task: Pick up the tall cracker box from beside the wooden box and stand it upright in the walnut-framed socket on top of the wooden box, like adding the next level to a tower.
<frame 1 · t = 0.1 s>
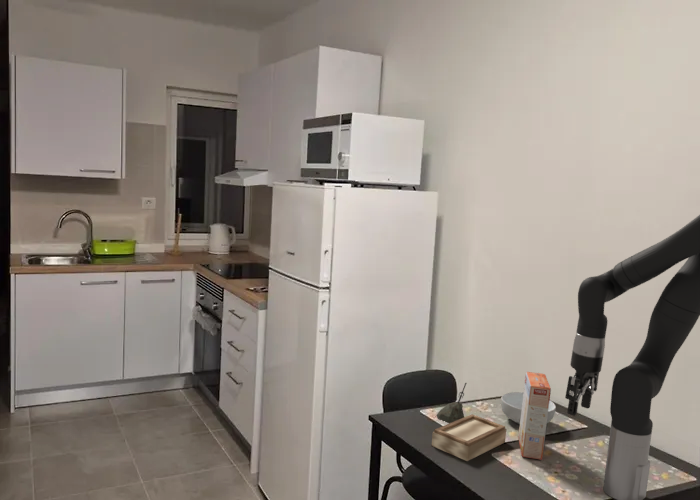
hand: (578, 410, 161), 17 cm above the table, tool pointing down, fingers open, 8 cm apart
sword in stone: (452, 420, 195), on the table
cereal bowl: (525, 422, 197), on the table
wooden box: (468, 443, 177), on the table
cracker box: (530, 449, 177), on the table
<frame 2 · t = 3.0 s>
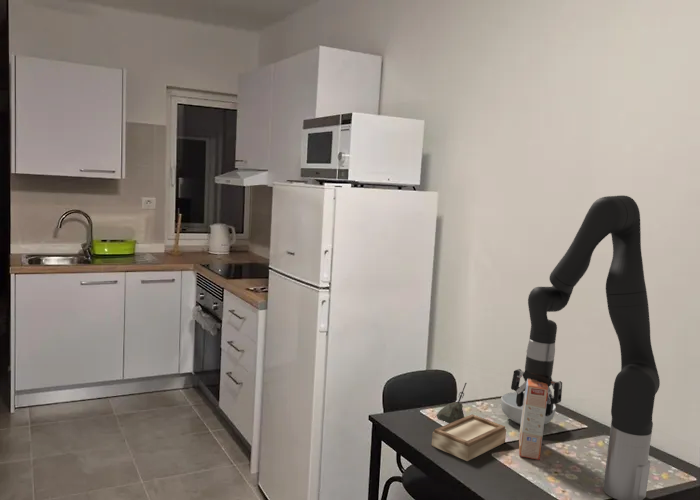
hand: (533, 410, 175), 11 cm above the table, tool pointing down, fingers open, 8 cm apart
nothing on the table moved.
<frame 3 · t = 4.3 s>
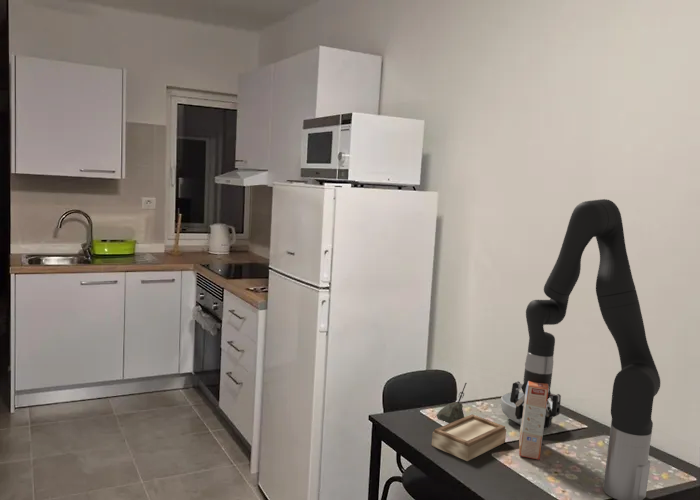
hand: (532, 423, 176), 8 cm above the table, tool pointing down, fingers closed on cracker box, 8 cm apart
cracker box: (529, 449, 177), on the table, touching gripper
everything else where it was.
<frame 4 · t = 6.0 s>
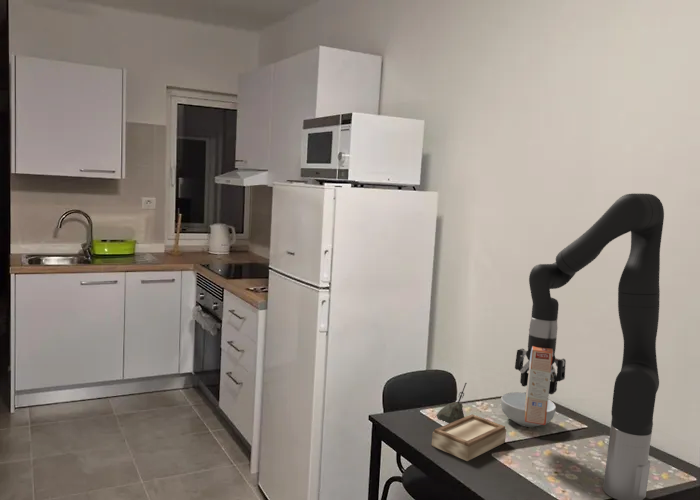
hand: (537, 389, 175), 18 cm above the table, tool pointing down, fingers closed on cracker box, 8 cm apart
cracker box: (535, 416, 175), point 10 cm above the table, touching gripper
everything else where it was.
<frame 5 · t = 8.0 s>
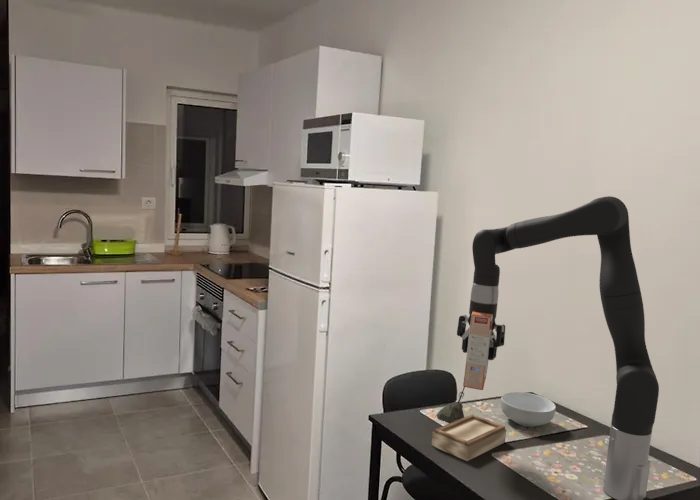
hand: (478, 355, 174), 26 cm above the table, tool pointing down, fingers closed on cracker box, 8 cm apart
cracker box: (475, 382, 175), point 18 cm above the table, touching gripper
everything else where it was.
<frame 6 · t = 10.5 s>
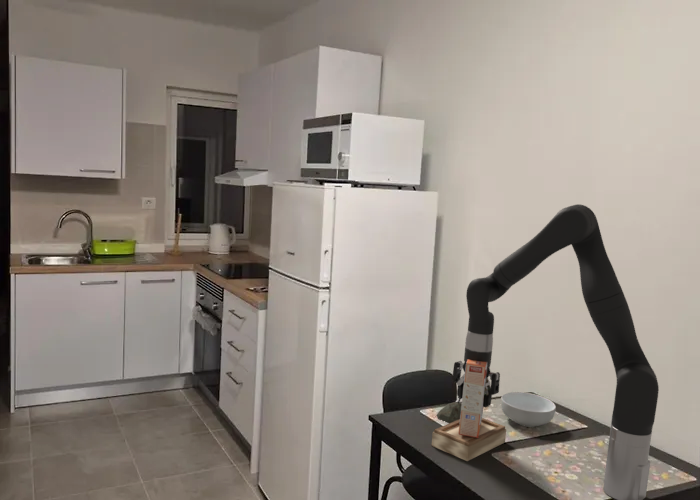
hand: (473, 402, 175), 13 cm above the table, tool pointing down, fingers closed on cracker box, 8 cm apart
cracker box: (470, 428, 176), point 5 cm above the table, touching gripper
everything else where it was.
when the fingers open (12 cm above the table, at t = 11.8 s): cracker box stays where it is, resting on wooden box.
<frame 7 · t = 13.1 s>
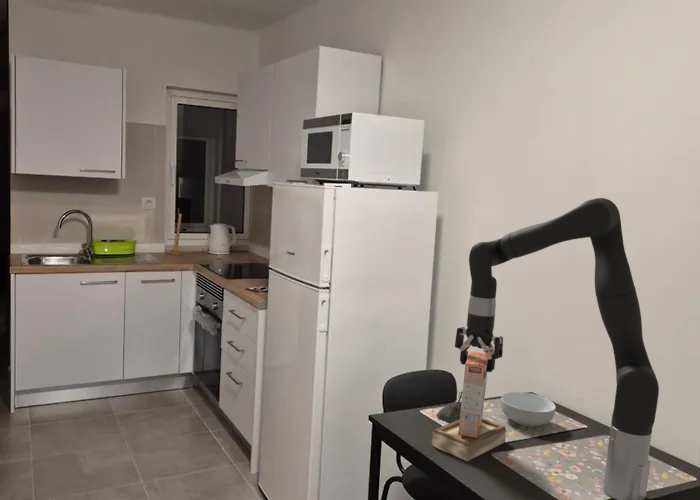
hand: (476, 367, 174), 23 cm above the table, tool pointing down, fingers open, 8 cm apart
cracker box: (470, 429, 176), point 5 cm above the table, touching wooden box
everything else where it was.
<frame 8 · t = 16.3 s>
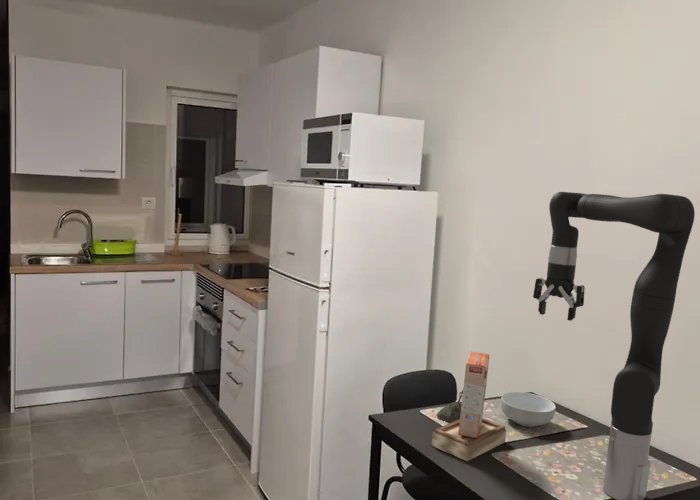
hand: (555, 317, 177), 38 cm above the table, tool pointing down, fingers open, 8 cm apart
nothing on the table moved.
at the end: cracker box 0.4 cm off-centre on the wooden box, point 4.6 cm above the wooden box's base; cracker box tilted 0°; the gripper is holding nothing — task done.
